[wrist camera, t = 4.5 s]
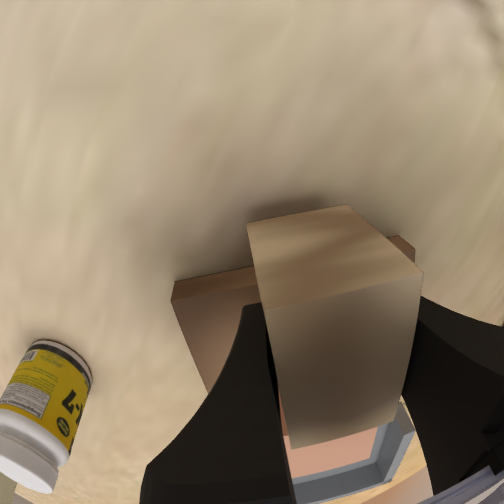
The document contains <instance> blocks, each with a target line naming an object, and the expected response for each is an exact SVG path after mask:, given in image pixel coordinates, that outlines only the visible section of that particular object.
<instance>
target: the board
mask: <svg viewBox="0 0 504 504" xmlns="http://www.w3.org/2000/svg"><path fill="white" fill-rule="evenodd" d="M387 239H388V240H389V241H390V242H391V243H392V244H393V245H395V246H396V247H397V248H398V249H399V250H400V251H401V252H402V253H403V254H405V255H406V256H407V257H408V258H409V259H410V260H411V261H412V262H413V263H414V261H415V248H414V247H412V246H411V245H410V244H409V243H408V242H406V241H405V240H404V239H403V238H401V237H400V236H395V237H390V238H387ZM259 302H261V298H260V293H259V288H258V283H257V278H256V273H255V268H254V266H251V267H246V268H241V269H236V270H231V271H226V272H221V273H216V274H211V275H206V276H201V277H196V278H191V279H186V280H181V281H175V283H174V287H173V292H172V296H171V304H172V306H173V309H174V312H175V314H176V317H177V320H178V322H179V325H180V327H181V330H182V332H183V335H184V337H185V340H186V342H187V345H188V347H189V350H190V352H191V355H192V357H193V359H194V362H195V364H196V367H197V369H198V371H199V374H200V376H201V378H202V380H203V383H204V385H205V387H206V389H207V392H208V394H209V392H210V391H211V389H212V387H213V386H214V384H215V382H216V380H217V378H218V377H219V375H220V373H221V371H222V369H223V366H224V364H225V362H226V360H227V357H228V355H229V353H230V350H231V348H232V345H233V342H234V339H235V336H236V333H237V330H238V327H239V323H240V319H241V313H242V308H243V307H244V306H245V305H249V304H254V303H259ZM278 391H279V388H278Z"/></svg>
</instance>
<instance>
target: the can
mask: <svg viewBox="0 0 504 504" xmlns="http://www.w3.org/2000/svg"><path fill="white" fill-rule="evenodd" d="M16 485H17V482H16V481H14V480H12V479H11V478H9V477H7V476H6V475H4V474H3V473H2V472H0V504H11V502H12V499H13V495H14V492H15V488H16Z"/></svg>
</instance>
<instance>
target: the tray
mask: <svg viewBox="0 0 504 504" xmlns="http://www.w3.org/2000/svg"><path fill="white" fill-rule="evenodd" d="M415 431H416V430H415V428H414V426H413V424H412V422H411V420H410V418H409V417H408V415H407V413H406V411H405V409H404V407H403V405H402V403H399V404H398V407H397V411H396V414H395V418H394V421H392V422H389V423H387V424H384V425H381V426H378V428H377V432H376V436H375V440H374V443H373V447H372V451H371V454H370V458H368V459H365V460H362V461H359V462H355V463H352V464H349V465H345V466H342V467H338V468H334V469H331V470H327V471H323V472H319V473H315V474H310V475H306V476H301V477H296V478H292V482H293V487H294V492H295V497H296V502H297V504H318V503H323V502H327V501H331V500H334V499H338V498H342V497H345V496H349V495H352V494H356V493H359V492H362V491H365V490H368V489H371V488H374V487H377V486H380V485H383V484H386V483H388V482H391V480H392V478H393V477H394V475H395V473H396V471H397V469H398V467H399V465H400V463H401V461H402V459H403V457H404V455H405V453H406V451H407V448H408V446H409V444H410V442H411V440H412V438H413V435H414V433H415Z"/></svg>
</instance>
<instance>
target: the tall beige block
mask: <svg viewBox="0 0 504 504" xmlns="http://www.w3.org/2000/svg"><path fill="white" fill-rule="evenodd" d="M246 227H247V232H248V237H249V242H250V247H251V252H252V258H253V263H254V268H255V273H256V278H257V283H258V288H259V293H260V298H261V302H262V306H263V311H264V316H265V320H266V325H267V330H268V336H269V341H270V346H271V351H272V356H273V361H274V366H275V371H276V376H277V382H278V388H279V393H280V397H281V402H282V407H283V412H284V417H285V422H286V426H287V431H288V436H289V441H290V446H291V450H293V449H298V448H302V447H307V446H311V445H315V444H319V443H323V442H327V441H331V440H335V439H339V438H342V437H346V436H349V435H353V434H356V433H359V432H363V431H366V430H369V429H372V428H375V427H378V426H381V425H384V424H387V423H389V422H392V421H394V418H395V414H396V411H397V407H398V404H399V400H400V396H401V393H402V389H403V385H404V381H405V377H406V373H407V368H408V364H409V359H410V355H411V350H412V345H413V340H414V334H415V329H416V323H417V317H418V311H419V304H420V297H421V289H422V281H423V271H422V270H421V269H420V268H419V267H418V266H416V265H415V264H414V263H413V262H412V261H411V260H410V259H409V258H408V257H407V256H406V255H405V254H403V253H402V252H401V251H400V250H399V249H398V248H397V247H396V246H395V245H393V244H392V243H391V242H390V241H389V240H388V239H387V238H386V237H384V236H383V235H382V234H381V233H380V232H379V231H378V230H376V229H375V228H374V227H373V226H372V225H371V224H369V223H368V222H367V221H366V220H365V219H363V218H362V217H361V216H360V215H359V214H358V213H356V212H355V211H354V210H353V209H351V208H350V207H349V206H348V205H341V206H335V207H330V208H324V209H319V210H313V211H308V212H302V213H297V214H292V215H286V216H281V217H276V218H271V219H266V220H260V221H255V222H250V223H246Z"/></svg>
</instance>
